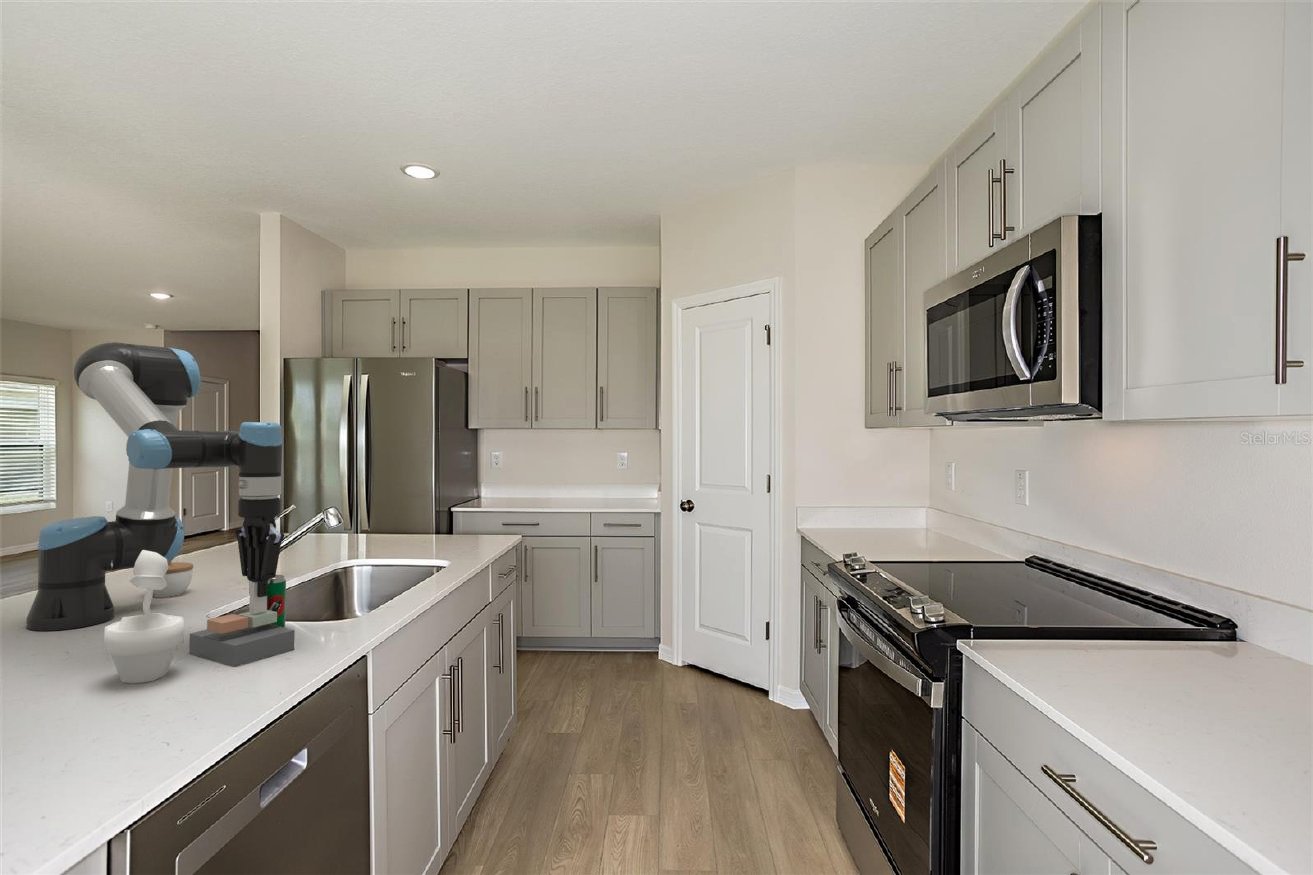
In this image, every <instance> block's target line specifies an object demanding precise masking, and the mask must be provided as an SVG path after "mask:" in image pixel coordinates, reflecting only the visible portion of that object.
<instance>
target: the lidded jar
mask: <svg viewBox="0 0 1313 875" xmlns="http://www.w3.org/2000/svg"><path fill="white" fill-rule="evenodd" d="M168 567H169V568H168V570H167V572H166V573H165V575H164V577H163V578H164V579H165V581H166V583H167V586H166V587H165V588H163V589H162V590H153V595H152V596H154V597H155V598H171V597H170V596H172V597H175V596H174V595H178V596H181V595H183V592H184V591H185V590H187V589H188V588H189V586H190V584H191V582H192V578H193V572H194V571H193V568H194V564H193V563H192V562H184V561H183V562H181V561H179V562H178V561H177V562H172V561H170V562H168ZM185 592H186V591H185ZM180 594H181V595H180Z"/></svg>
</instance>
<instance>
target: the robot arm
mask: <svg viewBox="0 0 1313 875" xmlns="http://www.w3.org/2000/svg"><path fill="white" fill-rule="evenodd" d="M73 378H74V382H75V384H76V386H77V387H78V389H79V390H80V391H81V392H82V393H83V394H84V396H86V397H88V398H90V399H93V400H95V401H96V402H98V403H99V405H100V406H101V408H103V410H104V411H105V412H106V413H107V414H108V415H109V417H111V419H112V420H113V421H114V422H115V423H116V425H117V426H118V428H120V430H121V431H122V432H123V433H124V434H125V435H126V436H127V440H126V445H125V446H126V448H125V450H126V451H125V453H126V455H127V457H128V462H129V463H128V473H127V481H126V482H127V483H126V492H125V502H124V503H125V504H124V506H122V507H121V508H119V509H118V510H117V511H116V513H115V514H116V515H115V521H114V520H113V521H108V520H107V518H106V517H105V516H98V515H97V516H86V517H76V518H70V519H65V520H60V521H55V522H52V523H50V524H47V525H45V526H43V527H42V528H41V530H40V531H39V538H38V544H37V548H36V549H37V550H38V557H37V559H38V566H37V571H38V572H37V574H38V576H37V593H36V596H35V598H34V600H33V602H32V605H31V607H30V608H29V611H28V613H27V617H26V629H28V630H32V631H39V632H40V631H43V632H44V631H45V632H46V631H63V630H64V631H65V630H72V629H79V628H85V627H90V626H94V625H98V624H102V623H105V622H108V621H110V620H112V619H113V618H114V617H115V606H114V603H113V600H112V598H111V596H110V594H109V591H108V588H107V586H106V573H107V572H111V571H113V572H114V571H120V570H127V569H134V565H135V562H136V560H137V558H138V556H139V555H140V553H141V552H142V550H146V551H151V552H156V553H158V554H160V555H161V556H163V557H164V558H166V559H167V562H170V561H171V562H173V560H174V559H175V558H176V557H177V556H178V555H179V553H180V551H181V550H182V548H183V544H184V539H185V530H184V524H183V522H182V520H181V518H179V517H177V516H176V511H175V510H174V509H172V508H171V507H170V498H171V487H172V478H173V469H185V468H186V469H188V468H192V469H193V468H231V467H233V468H238V476H239V477H238V478H239V479H238V480H239V481H238V482H237V485H238V495H239V497H241V498H240V499H239V500H238V502H237V503H238V506H237V507H238V508H237V512H238V513H237V514H238V516H239V517H240V518H242V519H243V518H244V519H243V523H242V527H241V528H239V529H235V530H234V534H235V537H236V539H237V540H236V541H237V546H238V551H239V552H238V554H239V562H240V569H241V576H242V577H246V578H247V581H249V585H248V586H249V588H248V590H249V591H248V592H249V601H248V602H249V603H248V604H249V608H248V610H249V611H248V612H249V613H251V614H256V613H261V612H265V611H267V594H268V580H269V579H271V578H274V577H275V576H276V575H277V569H278V563H279V557H280V553H281V546H282V543H283V541H284V539H285V533H284V532H278V530H277V523H276V519H275V518H276V517H278V516H280V515H281V511H282V504H281V502H282V500H281V498H280V497H279V496H281V495H282V461H283V460H282V454H283V438H282V436H283V435H282V426H281V424H279V423H277V422H266V421H263V422H261V421H260V422H259V421H252V422H251V421H244V422H241V424H240V426H239V431H236V430H180V429H178V419H179V412H180V411H182V410H183V409H184V408H186V407H187V405H188V399H191V398H194V397H195V396H197V395H198V394H199V390H200V387H201V372H200V368H199V365H198V363H197V361H196V359H195V358H194V356H193V355H192V354H191V353H190V352H188V351H186V350H183V349H179V348H178V349H177V348H174V347H173V348H172V347H168V346H166V347H165V346H157V345H145V344H144V345H143V344H133V343H126V342H105V343H100V344H96V345H94V346H93V347H91V348H88V349H87V350H85V351H84V352H82V353H81V355H80V356H79V357H78V358H77V360H76V362H75V364H74V367H73ZM123 552H124V554H123ZM111 563H112V564H113V566H111Z"/></svg>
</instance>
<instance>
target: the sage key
mask: <svg viewBox="0 0 1313 875" xmlns="http://www.w3.org/2000/svg"><path fill="white" fill-rule="evenodd" d="M237 615H240V616H245V617H248V627H252V628H254V627H258V626H262V625H266V624H270V623H274V622H277V612H274V611H270V610H267V611H265V612H261V613H256V614H251V613H249V611H247V612H241V613H238V614H237Z"/></svg>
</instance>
